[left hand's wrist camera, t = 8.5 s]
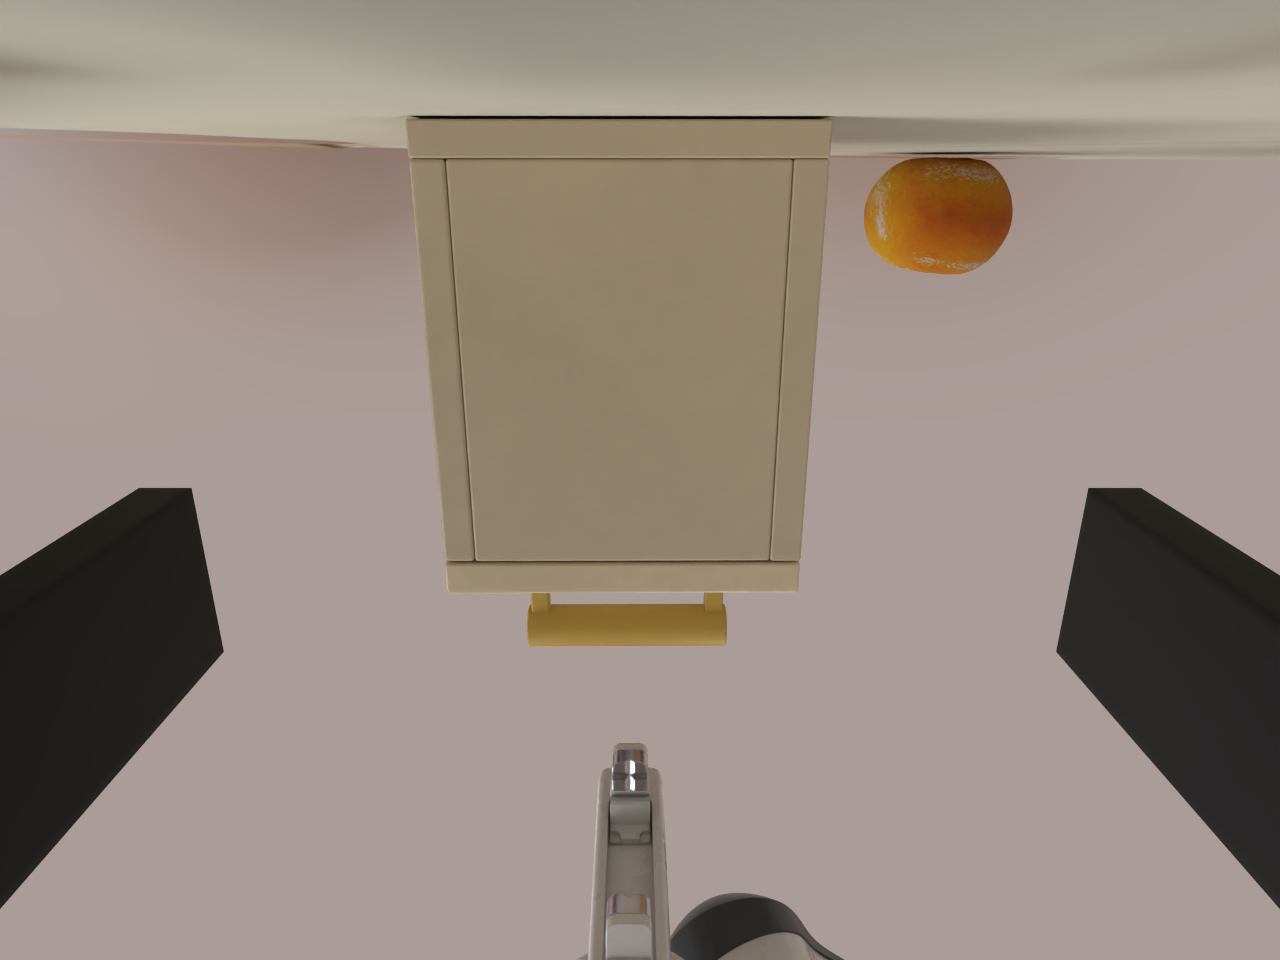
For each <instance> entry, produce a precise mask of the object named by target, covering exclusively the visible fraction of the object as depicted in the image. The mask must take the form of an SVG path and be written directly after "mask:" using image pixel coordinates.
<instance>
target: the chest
mask: <svg viewBox="0 0 1280 960" xmlns="http://www.w3.org/2000/svg"><path fill="white" fill-rule="evenodd" d="M406 133H407V145H408V156H409V157H410V158H413V159H411V160H410V173H411V184H412V195H413V206H414V218H415V229H416V240H417V252H418V263H419V274H420V286H421V297H422V308H423V319H424V330H425V342H426V353H427V365H428V376H429V387H430V398H431V410H432V421H433V432H434V443H435V455H436V466H437V477H438V489H439V500H440V511H441V523H442V534H443V545H444V556H445V559H446V560H447V561H472V560H474V559H475V558H476V560H477V561H673V560H769V558H770V560H772V561H798V560H800V556H801V543H802V529H803V515H804V502H805V488H806V475H807V461H808V447H809V433H810V420H811V407H812V393H813V379H814V365H815V352H816V339H817V325H818V311H819V298H820V284H821V270H822V257H823V243H824V230H825V216H826V202H827V189H828V175H829V159H827V158H829V157H830V149H831V136H832V120H831V119H406Z"/></svg>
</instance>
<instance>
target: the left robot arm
mask: <svg viewBox="0 0 1280 960" xmlns="http://www.w3.org/2000/svg"><path fill="white" fill-rule="evenodd" d="M223 652H224V651H223V646H222V641H221V635H220V630H219V625H218V620H217V615H216V610H215V605H214V600H213V595H212V590H211V585H210V580H209V575H208V570H207V565H206V559H205V554H204V549H203V544H202V539H201V534H200V529H199V524H198V519H197V514H196V509H195V504H194V499H193V494H192V489H191V488H138V489H137V490H135V491H134V492H132V493H131V494H129V495H127V496H126V497H124V498H123V499H121V500H119V501H118V502H116V503H115V504H113V505H111V506H110V507H108V508H107V509H105V510H104V511H102V512H100V513H99V514H97V515H95V516H94V517H92V518H91V519H89V520H88V521H86V522H84V523H83V524H81V525H80V526H78V527H76V528H75V529H73V530H72V531H70V532H68V533H67V534H65V535H64V536H62V537H61V538H59V539H57V540H56V541H54V542H53V543H51V544H49V545H48V546H46V547H45V548H43V549H41V550H40V551H38V552H37V553H35V554H34V555H32V556H30V557H29V558H27V559H26V560H24V561H22V562H21V563H19V564H18V565H16V566H14V567H13V568H11V569H10V570H8V571H7V572H5V573H3V574H2V575H0V908H1V907H2V906H3V905H4V904H5V903H6V901H7V900H8V899H9V898H10V897H11V896H12V895H13V893H14V892H15V891H16V890H17V889H18V888H19V887H20V885H21V884H22V883H23V882H24V881H25V880H26V879H27V877H28V876H29V875H30V874H31V873H32V872H33V870H34V869H35V868H36V867H37V866H38V865H39V864H40V862H41V861H42V860H43V859H44V858H45V857H46V855H47V854H48V853H49V852H50V851H51V850H52V849H53V847H54V846H55V845H56V844H57V843H58V842H59V841H60V839H61V838H62V837H63V836H64V835H65V834H66V833H67V831H68V830H69V829H70V828H71V827H72V826H73V824H74V823H75V822H76V821H77V820H78V819H79V818H80V816H81V815H82V814H83V813H84V812H85V811H86V809H87V808H88V807H89V806H90V805H91V804H92V803H93V801H94V800H95V799H96V798H97V797H98V796H99V795H100V793H101V792H102V791H103V790H104V789H105V788H106V787H107V785H108V784H109V783H110V782H111V781H112V780H113V778H114V777H115V776H116V775H117V774H118V773H119V772H120V770H121V769H122V768H123V767H124V766H125V765H126V763H127V762H128V761H129V760H130V759H131V758H132V757H133V755H134V754H135V753H136V752H137V751H138V750H139V748H140V747H141V746H142V745H143V744H144V743H145V742H146V740H147V739H148V738H149V737H150V736H151V735H152V734H153V732H154V731H155V730H156V729H157V728H158V727H159V726H160V724H161V723H162V722H163V721H164V720H165V719H166V717H167V716H168V715H169V714H170V713H171V712H172V711H173V709H174V708H175V707H176V706H177V705H178V704H179V703H180V701H181V700H182V699H183V698H184V697H185V696H186V694H187V693H188V692H189V691H190V690H191V689H192V688H193V686H194V685H195V684H196V683H197V682H198V681H199V679H200V678H201V677H202V676H203V675H204V674H205V673H206V671H207V670H208V669H209V668H210V667H211V666H212V665H213V663H214V662H215V661H216V660H217V659H218V658H219V656H220V655H221V654H222V653H223ZM1056 652H1057V653H1058V654H1059V655H1060V657H1061V658H1062V659H1063V660H1064V661H1065V662H1066V663H1067V665H1068V666H1069V667H1070V668H1071V669H1072V670H1073V671H1074V673H1075V674H1076V675H1077V676H1078V677H1079V678H1080V680H1081V681H1082V682H1083V683H1084V684H1085V685H1086V686H1087V688H1088V689H1089V690H1090V691H1091V692H1092V693H1093V694H1094V696H1095V697H1096V698H1097V699H1098V700H1099V701H1100V703H1101V704H1102V705H1103V706H1104V707H1105V708H1106V709H1107V711H1108V712H1109V713H1110V714H1111V715H1112V716H1113V717H1114V719H1115V720H1116V721H1117V722H1118V723H1119V724H1120V725H1121V727H1122V728H1123V729H1124V730H1125V731H1126V732H1127V734H1128V735H1129V736H1130V737H1131V738H1132V739H1133V740H1134V742H1135V743H1136V744H1137V745H1138V746H1139V747H1140V749H1141V750H1142V751H1143V752H1144V753H1145V754H1146V755H1147V757H1148V758H1149V759H1150V760H1151V761H1152V762H1153V763H1154V765H1155V766H1156V767H1157V768H1158V769H1159V770H1160V772H1161V773H1162V774H1163V775H1164V776H1165V777H1166V778H1167V780H1168V781H1169V782H1170V783H1171V784H1172V785H1173V787H1174V788H1175V789H1176V790H1177V791H1178V792H1179V793H1180V795H1181V796H1182V797H1183V798H1184V799H1185V800H1186V801H1187V803H1188V804H1189V805H1190V806H1191V807H1192V808H1193V809H1194V811H1195V812H1196V813H1197V814H1198V815H1199V816H1200V818H1201V819H1202V820H1203V821H1204V822H1205V823H1206V824H1207V826H1208V827H1209V828H1210V829H1211V830H1212V831H1213V832H1214V834H1215V835H1216V836H1217V837H1218V838H1219V839H1220V841H1221V842H1222V843H1223V844H1224V845H1225V846H1226V847H1227V849H1228V850H1229V851H1230V852H1231V853H1232V854H1233V855H1234V857H1235V858H1236V859H1237V860H1238V861H1239V862H1240V864H1241V865H1242V866H1243V867H1244V868H1245V869H1246V870H1247V872H1248V873H1249V874H1250V875H1251V876H1252V877H1253V879H1254V880H1255V881H1256V882H1257V883H1258V884H1259V885H1260V887H1261V888H1262V889H1263V890H1264V891H1265V892H1266V893H1267V895H1268V896H1269V897H1270V898H1271V899H1272V900H1273V902H1274V903H1275V904H1276V905H1277V906H1278V907H1279V908H1280V575H1278V574H1277V573H1275V572H1274V571H1272V570H1270V569H1269V568H1267V567H1265V566H1264V565H1262V564H1261V563H1259V562H1258V561H1256V560H1254V559H1253V558H1251V557H1250V556H1248V555H1246V554H1245V553H1243V552H1242V551H1240V550H1238V549H1237V548H1235V547H1234V546H1232V545H1231V544H1229V543H1227V542H1226V541H1224V540H1223V539H1221V538H1219V537H1218V536H1216V535H1215V534H1213V533H1212V532H1210V531H1208V530H1207V529H1205V528H1204V527H1202V526H1200V525H1199V524H1197V523H1196V522H1194V521H1192V520H1191V519H1189V518H1188V517H1186V516H1184V515H1183V514H1181V513H1180V512H1178V511H1177V510H1175V509H1173V508H1172V507H1170V506H1169V505H1167V504H1165V503H1164V502H1162V501H1161V500H1159V499H1157V498H1156V497H1154V496H1153V495H1151V494H1150V493H1148V492H1146V491H1145V490H1143V489H1142V488H1089V489H1088V494H1087V499H1086V504H1085V509H1084V514H1083V519H1082V524H1081V529H1080V534H1079V539H1078V544H1077V549H1076V554H1075V559H1074V565H1073V570H1072V575H1071V580H1070V585H1069V590H1068V595H1067V600H1066V605H1065V610H1064V615H1063V620H1062V625H1061V630H1060V635H1059V641H1058V646H1057V651H1056Z"/></svg>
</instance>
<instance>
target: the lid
mask: <svg viewBox="0 0 1280 960" xmlns="http://www.w3.org/2000/svg"><path fill="white" fill-rule="evenodd" d="M799 569H800V564H799V561H772V560H770V558H769V560H673V561H477V560H476V558H475V559H474V560H472V561H447V562H446V564H445V570H446V582H447V591H448V593H531V605H530V606H529V610H528V619H527V637H528V644H529V646H720V645H721V646H722V645H725V644H726V637H727V618H726V609H725V605H724V604H723V592H797V590H798V582H799ZM689 592H690V593H691V592H704V604H550V593H689Z"/></svg>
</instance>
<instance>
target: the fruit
mask: <svg viewBox="0 0 1280 960" xmlns="http://www.w3.org/2000/svg"><path fill="white" fill-rule="evenodd" d="M1011 221H1012V200H1011V195H1010V192H1009V189H1008V186H1007V184H1006V182H1005V180H1004V178H1003V177H1002V175H1001V174H1000V173H999V172H998V170H997V169H996V168H995V167H994V166H992V165H991V164H989V163H988V162H986V161H983V160H976V159H971V158H939V157H932V158H917V159H909V160H905V161H903V162H901V163H899V164H897V165H895V166H893V167H892V168H891V169H890V170H888V171H887V172H886V173H885V174H884V175H882V176H881V178H880V179H879V180H878V181H877V182H876V184H875V185H874V187H873V188H872V190H871V192H870V194H869V196H868V199H867V202H866V205H865V212H864V225H865V231H866V235H867V238H868V241H869V244H870V246H871V247H872V249H873V250H874V252H875V253H876V254H877V255H878V256H879V257H880V258H882V259H883V260H885V261H887V262H889V263H891V264H894V265H895V266H898V267H900V268H907V269H910V270H914V271H919V272H925V273H938V274H962V273H966V272H969V271H971V270H974V269H976V268H978V267H979V266H981V265H982V264H984V263H985V262H987V261H988V260H989V259H990V258H991V257H992V256H993V255H994V254H995V253H996V251H997V250H998V249H999V247H1000V246H1001V245H1002V243H1003V241H1004V240H1005V238H1006V236H1007V234H1008V232H1009V229H1010V226H1011Z"/></svg>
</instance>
